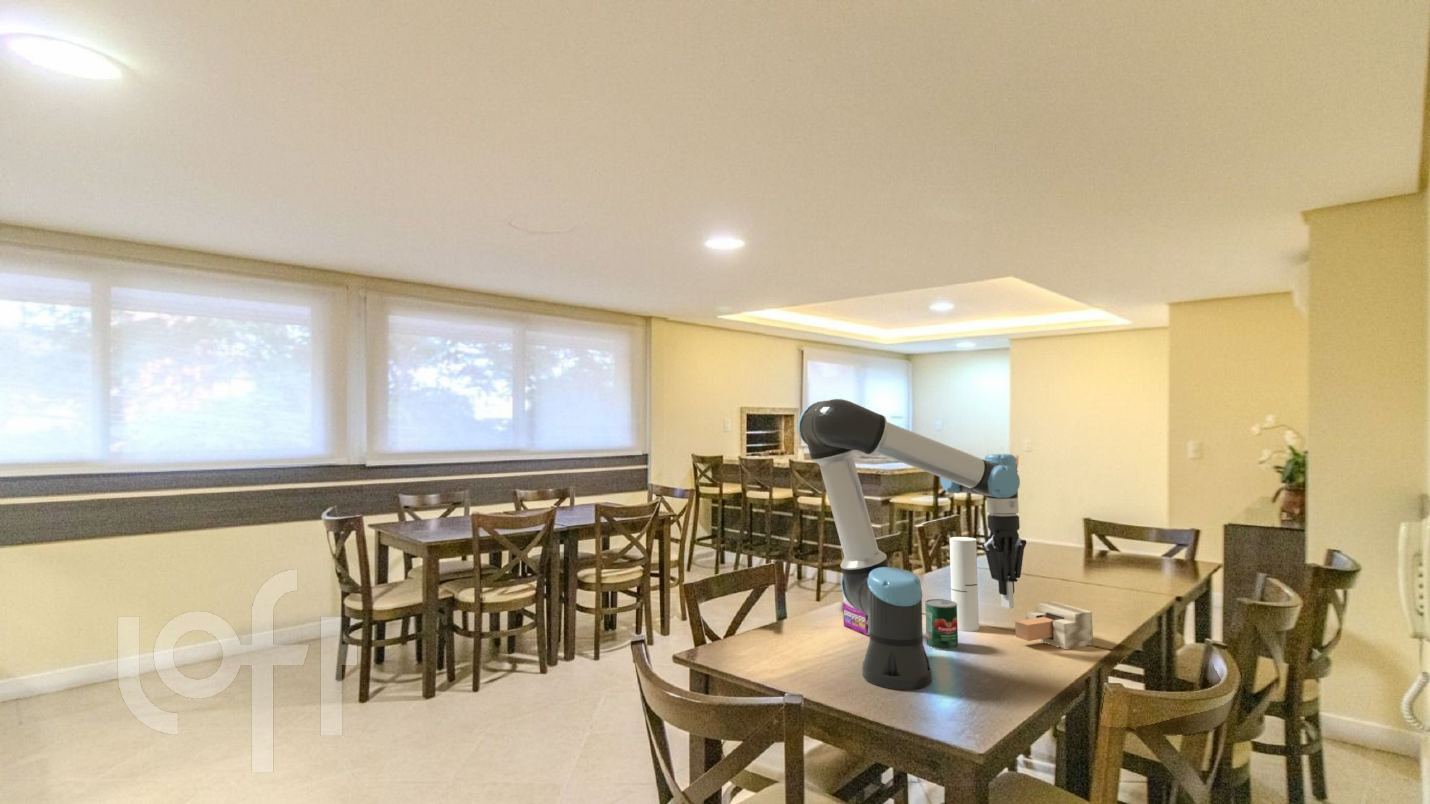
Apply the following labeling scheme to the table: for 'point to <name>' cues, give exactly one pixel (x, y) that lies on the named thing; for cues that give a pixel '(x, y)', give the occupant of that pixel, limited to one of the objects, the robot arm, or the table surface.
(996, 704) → the table surface
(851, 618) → the candy bar box
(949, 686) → the table surface
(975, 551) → the cylindrical container
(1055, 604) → the sleeve
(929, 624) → the canned tomato
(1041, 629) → the peg
